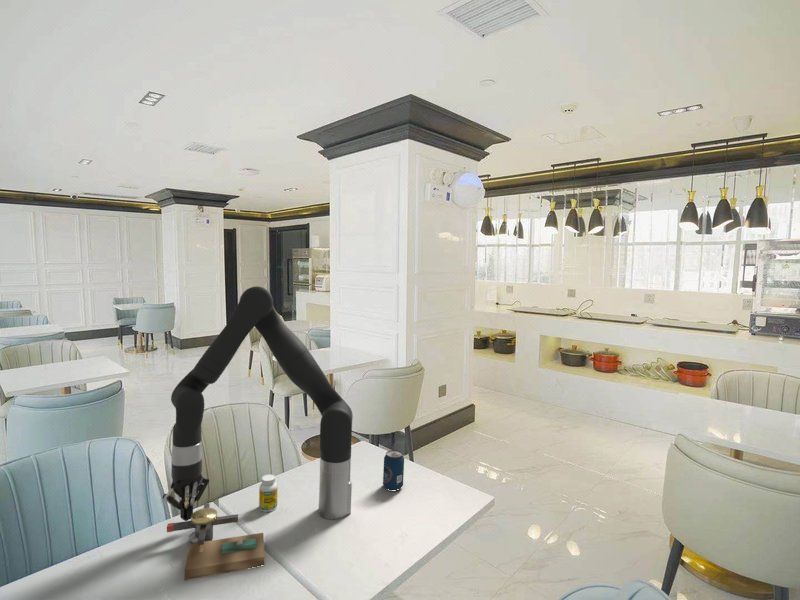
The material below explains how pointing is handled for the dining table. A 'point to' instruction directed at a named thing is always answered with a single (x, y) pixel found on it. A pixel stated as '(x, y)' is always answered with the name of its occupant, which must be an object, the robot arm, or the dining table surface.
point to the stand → (224, 556)
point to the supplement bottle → (268, 493)
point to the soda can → (393, 470)
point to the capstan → (202, 524)
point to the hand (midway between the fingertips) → (186, 519)
